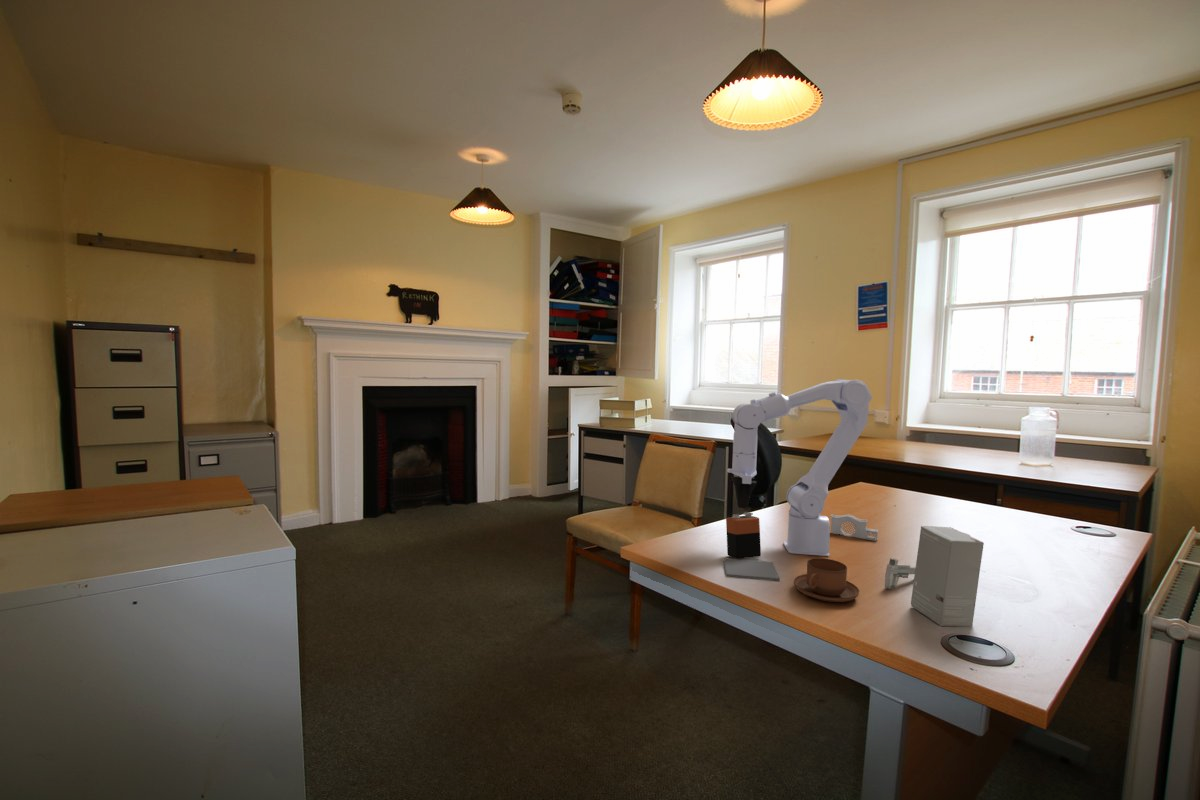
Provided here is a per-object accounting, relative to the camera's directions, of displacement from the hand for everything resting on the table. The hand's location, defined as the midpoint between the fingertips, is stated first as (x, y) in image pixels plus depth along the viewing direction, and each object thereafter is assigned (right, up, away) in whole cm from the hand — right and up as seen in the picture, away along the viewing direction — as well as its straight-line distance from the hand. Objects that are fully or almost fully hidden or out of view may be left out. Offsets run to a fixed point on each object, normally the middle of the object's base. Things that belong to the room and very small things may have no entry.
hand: (742, 506), depth 134 cm
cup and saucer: (+10, -13, -26) cm, 31 cm away
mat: (-2, -11, -14) cm, 18 cm away
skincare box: (+28, -13, -35) cm, 47 cm away
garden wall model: (+33, -11, +12) cm, 37 cm away
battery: (-1, -11, -6) cm, 12 cm away
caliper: (+32, -13, -18) cm, 39 cm away
